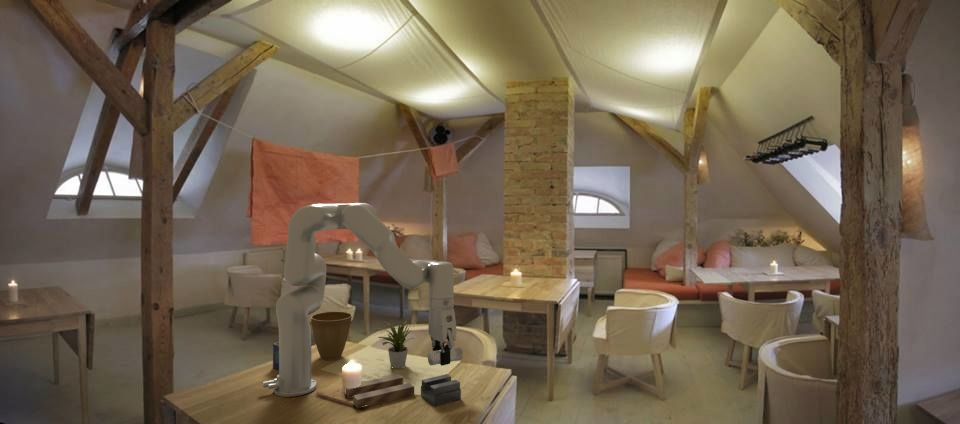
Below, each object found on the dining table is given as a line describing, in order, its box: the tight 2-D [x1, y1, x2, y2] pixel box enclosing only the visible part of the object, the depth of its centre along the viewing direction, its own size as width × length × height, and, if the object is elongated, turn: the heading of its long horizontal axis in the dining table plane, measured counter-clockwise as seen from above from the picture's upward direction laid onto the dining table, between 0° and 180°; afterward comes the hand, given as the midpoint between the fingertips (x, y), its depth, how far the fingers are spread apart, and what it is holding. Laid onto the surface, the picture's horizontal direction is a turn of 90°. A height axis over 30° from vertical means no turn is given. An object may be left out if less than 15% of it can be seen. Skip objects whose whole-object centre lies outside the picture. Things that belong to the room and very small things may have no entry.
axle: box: [427, 346, 464, 366], centre depth 141 cm, size 10×4×4 cm
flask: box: [272, 341, 279, 372], centre depth 163 cm, size 9×3×11 cm, turn 68°
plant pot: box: [310, 311, 353, 361], centre depth 176 cm, size 15×15×16 cm
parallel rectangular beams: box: [345, 373, 415, 410], centre depth 143 cm, size 18×12×3 cm, turn 123°
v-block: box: [420, 373, 462, 407], centre depth 141 cm, size 9×9×5 cm
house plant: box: [377, 320, 416, 369], centre depth 168 cm, size 14×14×16 cm
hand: (441, 361), depth 141 cm, fingers closed on axle, 4 cm apart
